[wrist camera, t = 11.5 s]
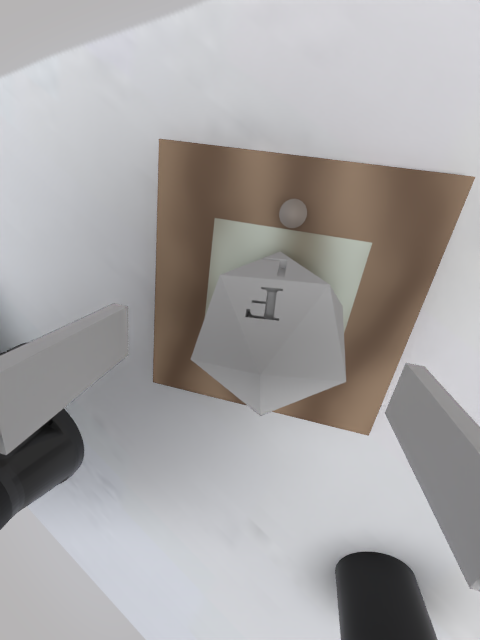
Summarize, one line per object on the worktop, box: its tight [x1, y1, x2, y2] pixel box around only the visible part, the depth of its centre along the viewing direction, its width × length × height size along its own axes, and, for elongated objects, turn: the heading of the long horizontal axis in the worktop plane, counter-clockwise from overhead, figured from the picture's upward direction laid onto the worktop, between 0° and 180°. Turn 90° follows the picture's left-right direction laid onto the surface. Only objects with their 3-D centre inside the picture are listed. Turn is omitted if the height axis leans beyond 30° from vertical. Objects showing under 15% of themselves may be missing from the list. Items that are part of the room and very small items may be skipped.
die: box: [191, 252, 346, 416], centre depth 16 cm, size 8×9×10 cm
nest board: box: [153, 139, 475, 435], centre depth 20 cm, size 20×20×4 cm
